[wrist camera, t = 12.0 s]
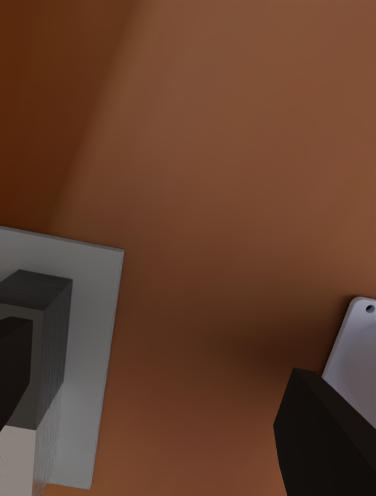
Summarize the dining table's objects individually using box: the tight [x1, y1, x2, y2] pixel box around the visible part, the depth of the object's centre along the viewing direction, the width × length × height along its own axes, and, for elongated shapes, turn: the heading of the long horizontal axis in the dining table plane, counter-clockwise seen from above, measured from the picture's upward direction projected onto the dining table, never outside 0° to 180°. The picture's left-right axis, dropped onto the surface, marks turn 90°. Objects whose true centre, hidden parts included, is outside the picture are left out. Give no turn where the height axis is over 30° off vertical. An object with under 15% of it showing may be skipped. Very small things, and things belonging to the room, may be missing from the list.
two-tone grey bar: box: [0, 269, 73, 496], centre depth 18 cm, size 3×14×4 cm, turn 169°
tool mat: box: [0, 226, 125, 490], centre depth 20 cm, size 8×18×1 cm, turn 169°
